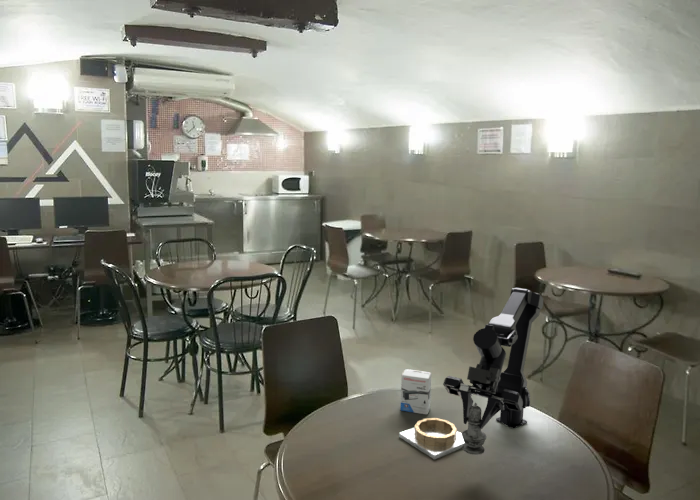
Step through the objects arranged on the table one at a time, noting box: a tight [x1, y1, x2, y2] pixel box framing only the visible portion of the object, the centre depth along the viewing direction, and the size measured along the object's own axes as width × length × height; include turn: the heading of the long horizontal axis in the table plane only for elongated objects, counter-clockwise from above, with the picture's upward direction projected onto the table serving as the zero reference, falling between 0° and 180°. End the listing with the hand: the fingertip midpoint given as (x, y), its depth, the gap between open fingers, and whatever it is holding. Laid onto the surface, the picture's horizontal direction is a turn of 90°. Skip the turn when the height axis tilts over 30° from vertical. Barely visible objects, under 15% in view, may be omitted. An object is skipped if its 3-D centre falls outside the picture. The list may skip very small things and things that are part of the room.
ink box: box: [399, 368, 432, 415], centre depth 168 cm, size 8×5×12 cm, turn 72°
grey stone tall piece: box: [461, 402, 487, 456], centre depth 133 cm, size 6×6×12 cm
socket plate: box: [398, 417, 465, 460], centre depth 150 cm, size 14×14×4 cm
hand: (472, 425), depth 131 cm, fingers closed on grey stone tall piece, 4 cm apart
